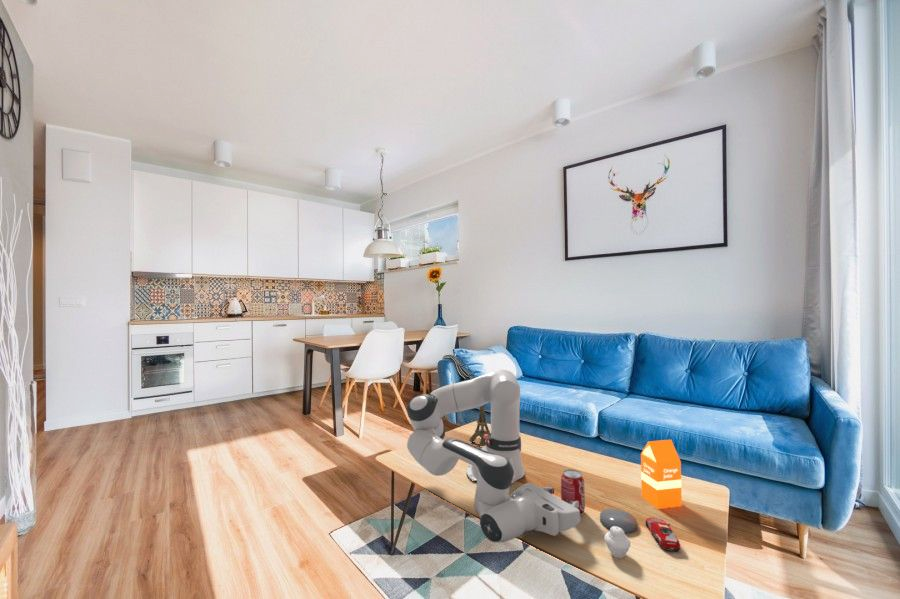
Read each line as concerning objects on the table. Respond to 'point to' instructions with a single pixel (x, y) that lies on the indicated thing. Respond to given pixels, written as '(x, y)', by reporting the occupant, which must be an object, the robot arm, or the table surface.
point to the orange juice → (661, 474)
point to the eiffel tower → (482, 423)
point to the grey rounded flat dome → (618, 520)
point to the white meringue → (617, 542)
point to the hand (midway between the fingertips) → (564, 496)
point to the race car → (663, 534)
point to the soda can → (573, 488)
